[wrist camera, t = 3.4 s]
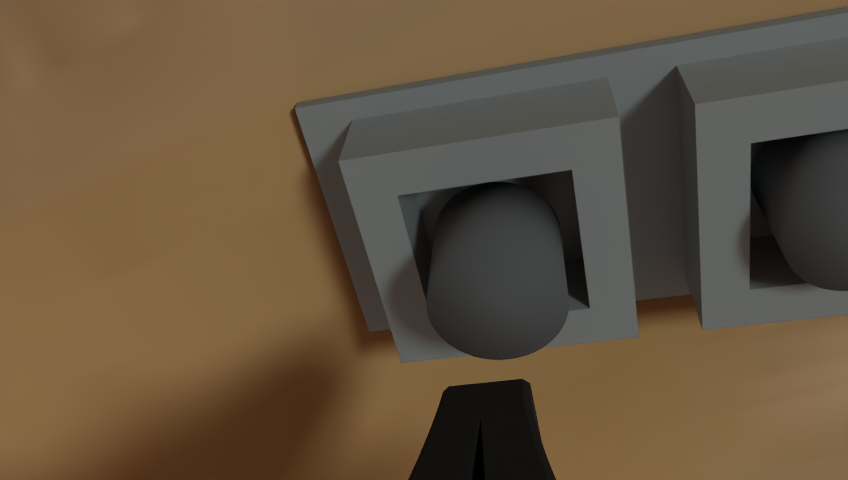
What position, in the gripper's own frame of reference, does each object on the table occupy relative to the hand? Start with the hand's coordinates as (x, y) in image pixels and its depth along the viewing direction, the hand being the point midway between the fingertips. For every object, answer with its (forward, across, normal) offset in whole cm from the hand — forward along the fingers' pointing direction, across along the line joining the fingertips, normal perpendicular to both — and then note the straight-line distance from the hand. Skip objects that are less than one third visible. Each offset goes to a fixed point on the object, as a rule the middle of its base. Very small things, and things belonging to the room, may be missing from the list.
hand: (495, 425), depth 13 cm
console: (+7, -4, 0) cm, 8 cm away
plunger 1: (+6, 0, 0) cm, 6 cm away
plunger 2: (+7, -7, 0) cm, 10 cm away
